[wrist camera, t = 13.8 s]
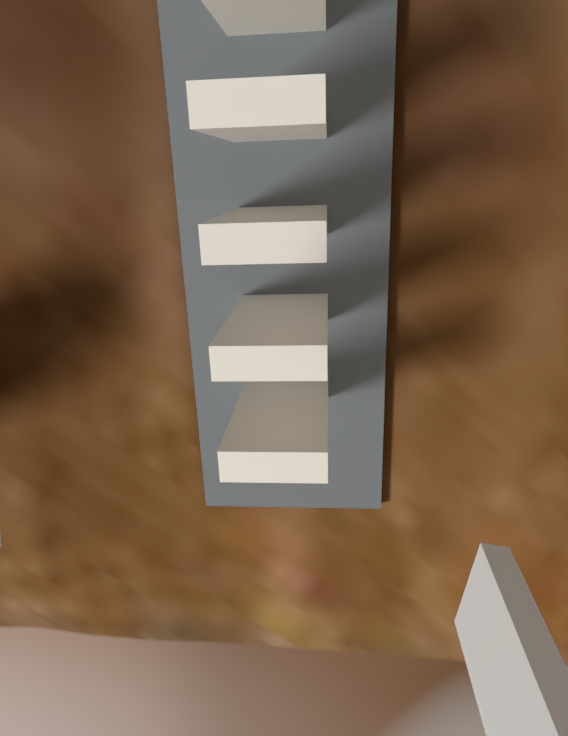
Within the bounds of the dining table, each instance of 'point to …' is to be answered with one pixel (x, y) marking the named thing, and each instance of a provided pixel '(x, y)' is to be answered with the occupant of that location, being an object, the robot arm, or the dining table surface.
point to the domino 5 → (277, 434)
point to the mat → (294, 188)
